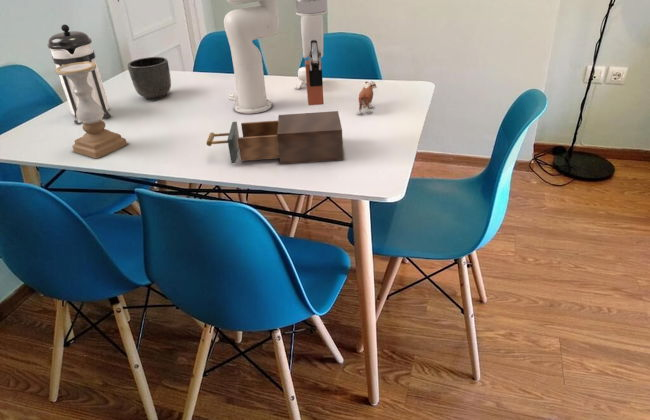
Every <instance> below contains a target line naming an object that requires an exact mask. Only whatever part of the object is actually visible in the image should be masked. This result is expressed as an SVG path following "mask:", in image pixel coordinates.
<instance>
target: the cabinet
mask: <svg viewBox="0 0 650 420" xmlns="http://www.w3.org/2000/svg"><path fill="white" fill-rule="evenodd" d="M277 121H278V130H277V137H278V146H279V155H280V158H279V164H280V165H290V164H305V163H316V162H318V163H319V162H320V163H321V162H334V161H344V149H343V148H344V147H343V146H344V145H343V142H344V141H343V127H342V123H341V118H340V114H339V111H338V110H332V111H331V110H330V111H319V112H304V113H287V114H286V113H285V114H278V117H277Z"/></svg>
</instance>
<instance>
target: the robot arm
mask: <svg viewBox="0 0 650 420" xmlns="http://www.w3.org/2000/svg"><path fill="white" fill-rule="evenodd" d="M226 2H227V3H228V4H231V5H241V4H249V3H256V2H257V3H258V5H257V6H249V7H242V8H236V9H233V10H230V11H228V12H227V13H226V14H225V15H224V18H223V26H224V32H225V34H226V38H227V41H228V44H229V48H230V53H231V55H230V56H231V59H232V61H231V62H232V67H233V73H234V81H235V86H236V93H233V92H231V93H229V95H228V100H229V102H235V104H234V111H235V112H238V113H240V114H245V115H246V114H247V115H249V114H259V113H264V112H266V111H268V110H270V109H271V108H272V107H273V106H272V105H273V104H272V101H271V99H268V98H267V92H266V82H265V73H264V65H263V57H262V53H261V50H260V49H259V47H258V46H256V45H255V43H254V42H253V41H254V40H259V39H265V38H269V37H274V36H276V35H277V34H278V32H279V30H280V15H279V8H278V0H226ZM294 4H295V15H296V16H300V34H301V35H300V36H301V37H300V38H301V47H302V48H301V49H302V57H303V59H304V60H307V58H308V60H309V63H310V70H309V78H310V86H311V87H313V86H322V85H323V86H324V84H323V83H324V82H323V68H322V69H321V63H322V58H323V57H324V17H323V16H324V15H326V14H328V0H294ZM320 59H321V61H320ZM311 60H313V61H312V62H311Z"/></svg>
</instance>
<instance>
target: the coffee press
mask: <svg viewBox="0 0 650 420" xmlns="http://www.w3.org/2000/svg"><path fill="white" fill-rule="evenodd" d="M60 29H61V31H63V32H58V33H55V34H53V35H52V36H50V37H49V39H48V43H47V48H48V50H50V53H51V58H52V61H53V64H54V65H55V67H56V68H58V67H60V66H63V65H66V64H71V63H77V62H93V63H95V64H96V68H95V69H94V70H93V71H90V72H88V76H87V82H88V84H89V85H90V86H91V87H92V88H93V90H92V93H91V97H92V99H93V100H94V101H95V102H96V103H97V104H98V105H100V106H101V107H102V109H103V111H104V116H103V118H105V119H109V118H111V117H112V116H111V113H110V112H109V111H108V110H110V109H109V108H110V104H109V100H108V97H107V94H106V89H105V87H104V83H103V80H102V76H101V73H100V69H99V66H98V63H97V59H96V57H97V56H96V53H95V50H94V49H93V45H92V38H91V37H89V35H88V34H87V33H85V32H83V31H78V30H77V31H76V30H74V31H73V30H72V31H71V30H70V26H69V25H68V24H65V23H64V24H62V25H61V27H60ZM56 68H55V69H56ZM58 77H59V80H60V82H61V86H62V89H63V93H64V95H65V98H66V101H67V104H68V106H69V110H70V113H71V114H72V115H73V116H74V119H73V122H74V124H78V125H79V124H81V123H82V122H81V121H79V120H78V119H77V117H76V111H77V107H78V104H79V98H78V97H77V96H76V95H75V94H74V93H73V89H74V83H73V82H72V80H70V79H69V78H68V77H67V76H62V75H58Z"/></svg>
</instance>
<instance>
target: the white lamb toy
mask: <svg viewBox="0 0 650 420" xmlns="http://www.w3.org/2000/svg"><path fill="white" fill-rule="evenodd" d="M297 78H298V81H297V83H296V85H295V89H296V90H299V89H301V87H302V86H303V85H306V86H307V81H306V66H302V67H299V68H298V71H297Z"/></svg>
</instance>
